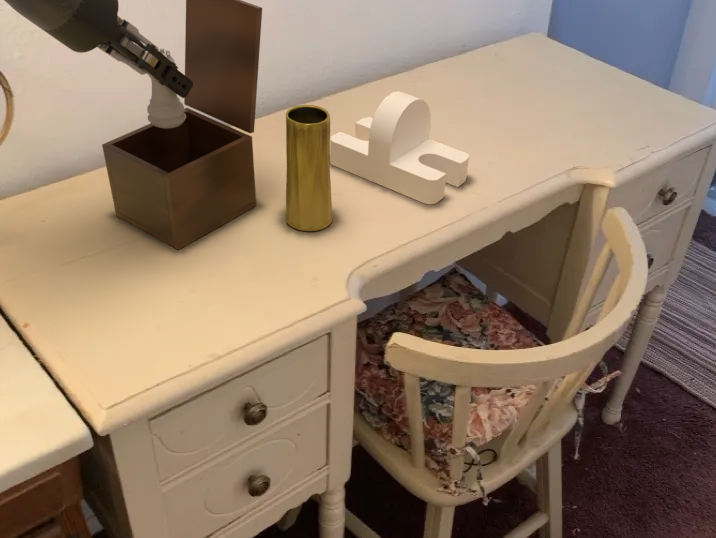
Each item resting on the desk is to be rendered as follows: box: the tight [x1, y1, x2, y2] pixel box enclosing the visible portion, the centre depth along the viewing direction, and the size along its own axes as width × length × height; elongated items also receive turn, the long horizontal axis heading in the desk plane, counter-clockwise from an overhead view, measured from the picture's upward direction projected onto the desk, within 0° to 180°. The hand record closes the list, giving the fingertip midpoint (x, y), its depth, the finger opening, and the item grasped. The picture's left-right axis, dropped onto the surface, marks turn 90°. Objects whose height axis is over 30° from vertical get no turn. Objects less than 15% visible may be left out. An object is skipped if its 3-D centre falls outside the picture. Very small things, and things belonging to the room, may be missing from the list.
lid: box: [183, 0, 263, 134], centre depth 101 cm, size 14×12×1 cm
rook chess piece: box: [146, 47, 186, 128], centre depth 95 cm, size 4×4×8 cm
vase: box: [284, 104, 334, 232], centre depth 103 cm, size 6×6×14 cm
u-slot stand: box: [330, 90, 470, 205], centre depth 114 cm, size 10×18×11 cm, turn 54°
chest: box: [101, 107, 257, 250], centre depth 105 cm, size 14×12×10 cm
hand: (177, 83), depth 97 cm, fingers closed on rook chess piece, 3 cm apart
